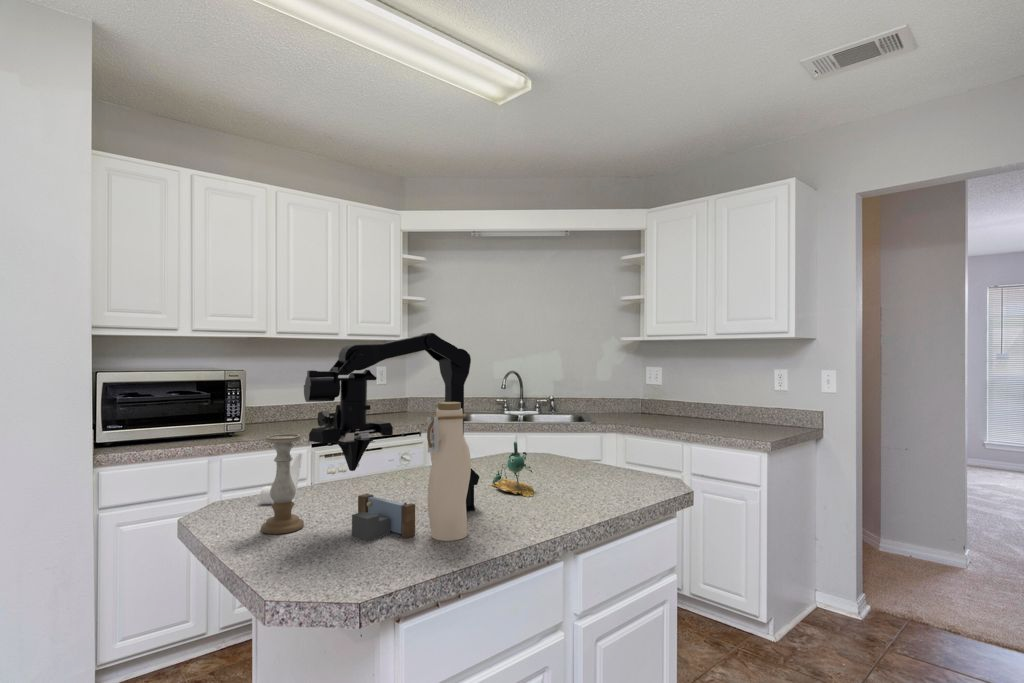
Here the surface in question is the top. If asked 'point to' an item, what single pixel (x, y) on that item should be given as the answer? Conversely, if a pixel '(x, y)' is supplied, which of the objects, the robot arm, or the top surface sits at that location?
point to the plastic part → (294, 473)
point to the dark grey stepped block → (369, 526)
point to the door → (387, 511)
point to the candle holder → (282, 488)
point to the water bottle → (448, 472)
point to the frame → (407, 514)
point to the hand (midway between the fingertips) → (352, 470)
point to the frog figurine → (514, 465)
